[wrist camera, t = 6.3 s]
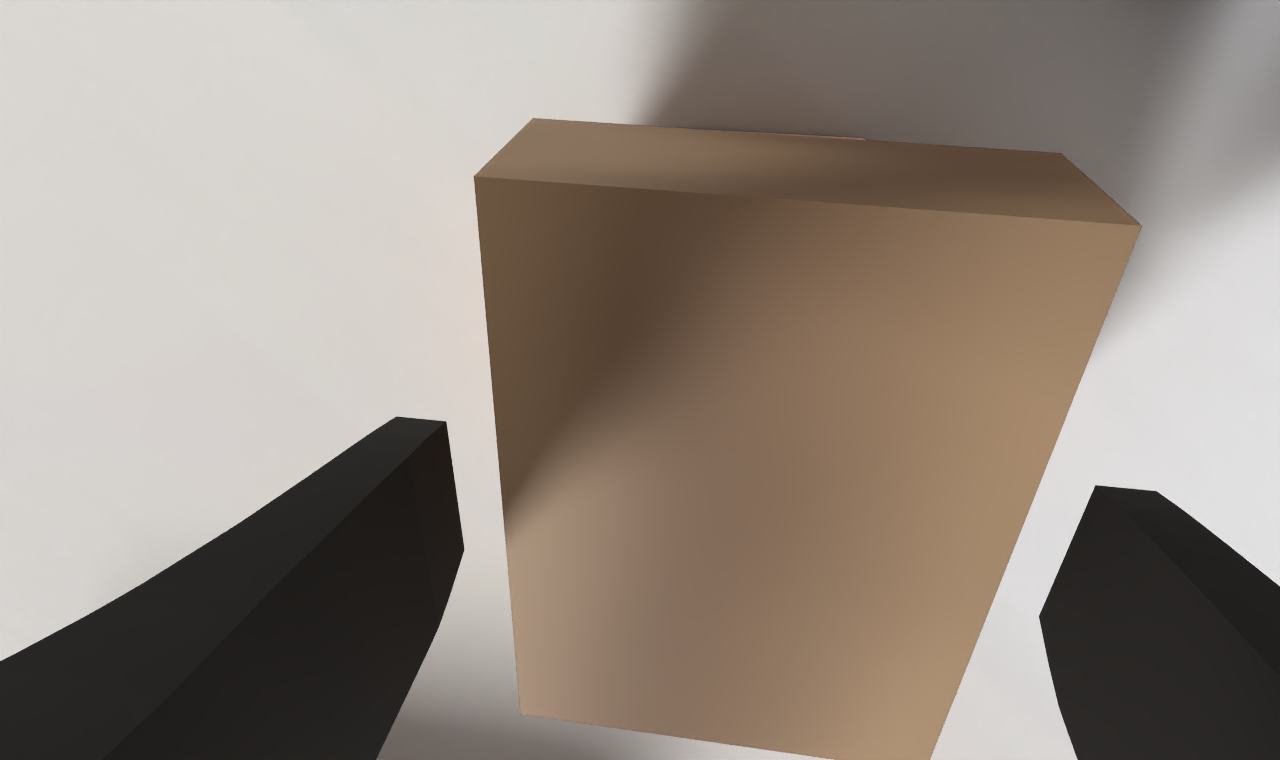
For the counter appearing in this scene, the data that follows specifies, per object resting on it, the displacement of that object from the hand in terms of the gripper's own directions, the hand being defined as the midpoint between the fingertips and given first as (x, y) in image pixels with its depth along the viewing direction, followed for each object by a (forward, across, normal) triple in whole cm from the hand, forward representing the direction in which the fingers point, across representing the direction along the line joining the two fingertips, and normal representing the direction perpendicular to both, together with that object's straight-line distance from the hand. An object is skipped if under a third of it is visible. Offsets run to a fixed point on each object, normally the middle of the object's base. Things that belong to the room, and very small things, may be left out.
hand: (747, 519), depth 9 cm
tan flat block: (+1, 0, 0) cm, 1 cm away
